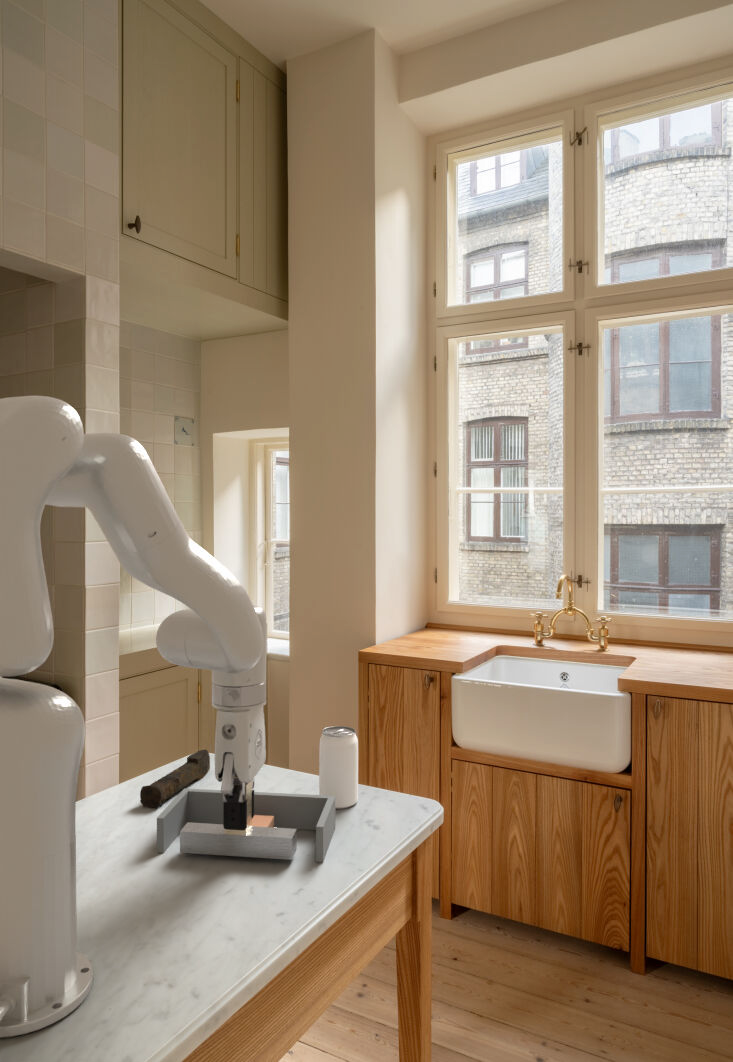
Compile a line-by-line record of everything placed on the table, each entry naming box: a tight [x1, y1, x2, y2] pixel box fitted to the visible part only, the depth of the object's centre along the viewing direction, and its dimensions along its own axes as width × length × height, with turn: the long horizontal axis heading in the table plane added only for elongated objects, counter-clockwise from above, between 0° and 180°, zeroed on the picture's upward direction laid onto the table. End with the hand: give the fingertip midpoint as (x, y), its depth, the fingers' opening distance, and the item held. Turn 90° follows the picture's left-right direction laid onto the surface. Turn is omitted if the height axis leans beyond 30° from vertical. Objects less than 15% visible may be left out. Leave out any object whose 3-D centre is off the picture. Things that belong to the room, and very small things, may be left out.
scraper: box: [179, 777, 298, 861], centre depth 104 cm, size 3×16×10 cm, turn 83°
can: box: [318, 725, 359, 810], centre depth 123 cm, size 6×6×12 cm
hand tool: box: [139, 749, 211, 809], centre depth 129 cm, size 19×4×5 cm, turn 159°
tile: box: [252, 815, 274, 828], centre depth 109 cm, size 6×6×3 cm
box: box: [156, 787, 336, 863], centre depth 109 cm, size 11×24×5 cm, turn 84°
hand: (239, 822), depth 104 cm, fingers closed on scraper, 3 cm apart
